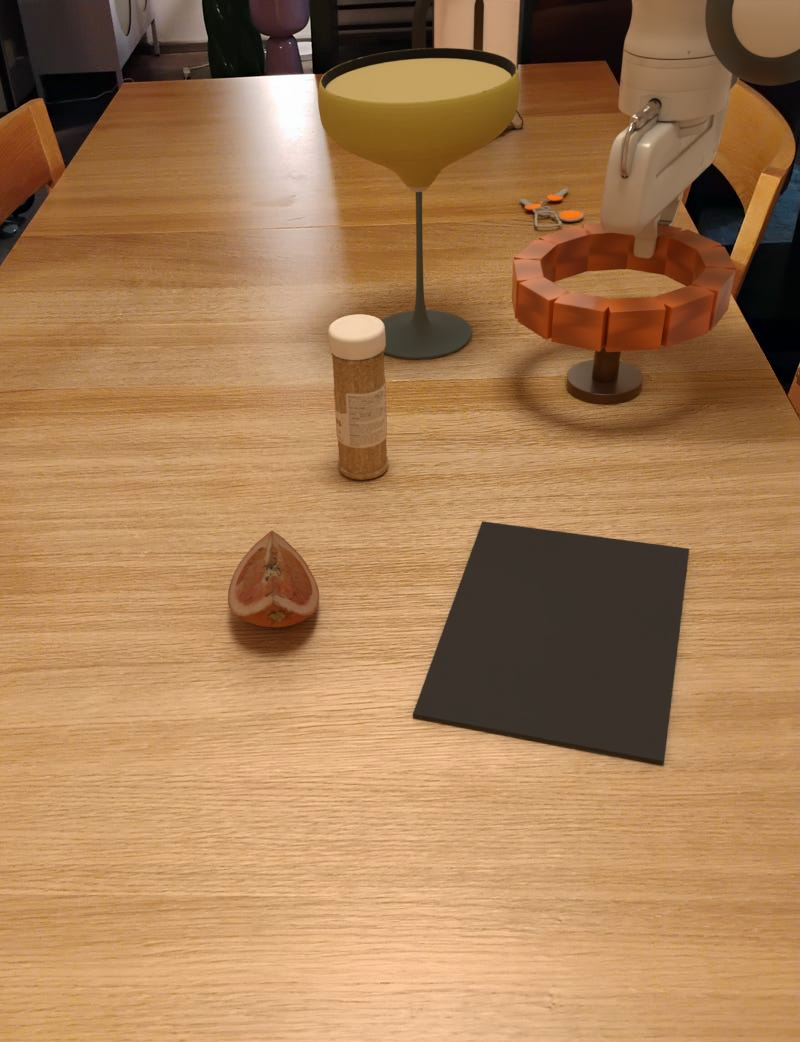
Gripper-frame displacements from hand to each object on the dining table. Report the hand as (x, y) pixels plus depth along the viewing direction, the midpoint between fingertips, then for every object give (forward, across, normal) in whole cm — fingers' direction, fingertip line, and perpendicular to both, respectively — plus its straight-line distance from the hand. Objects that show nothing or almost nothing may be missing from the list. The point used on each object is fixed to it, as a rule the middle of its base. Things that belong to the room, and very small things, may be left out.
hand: (652, 247), depth 96 cm
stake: (+10, -8, 0) cm, 13 cm away
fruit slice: (+10, -51, +9) cm, 52 cm away
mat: (+10, -42, -10) cm, 44 cm away
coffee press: (+10, +55, +47) cm, 73 cm away
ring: (+2, -8, 0) cm, 8 cm away
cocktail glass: (+10, -6, +21) cm, 25 cm away
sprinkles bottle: (+10, -31, +13) cm, 35 cm away
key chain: (+10, +30, +23) cm, 40 cm away
